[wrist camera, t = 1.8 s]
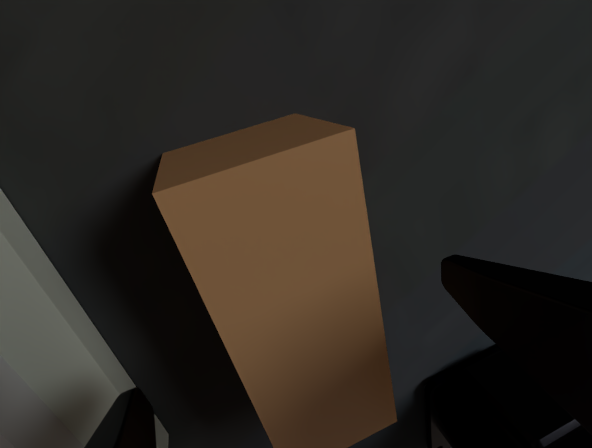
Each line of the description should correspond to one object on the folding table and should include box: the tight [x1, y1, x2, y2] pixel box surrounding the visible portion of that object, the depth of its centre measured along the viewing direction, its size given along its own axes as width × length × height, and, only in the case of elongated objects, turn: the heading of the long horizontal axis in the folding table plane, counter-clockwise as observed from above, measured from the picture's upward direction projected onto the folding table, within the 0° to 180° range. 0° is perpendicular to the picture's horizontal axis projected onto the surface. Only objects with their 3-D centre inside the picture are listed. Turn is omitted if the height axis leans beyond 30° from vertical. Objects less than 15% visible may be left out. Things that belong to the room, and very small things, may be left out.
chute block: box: [152, 114, 397, 448], centre depth 10 cm, size 10×4×4 cm, turn 14°
